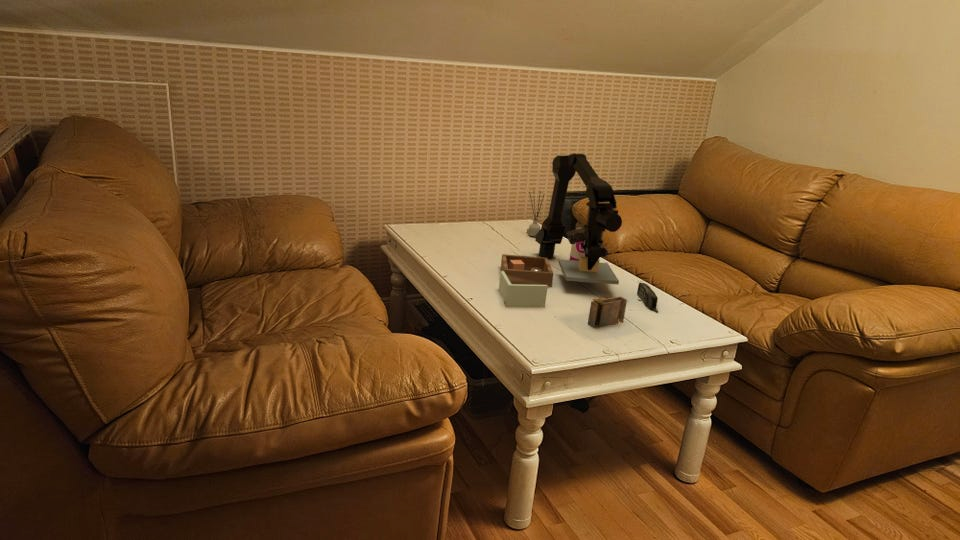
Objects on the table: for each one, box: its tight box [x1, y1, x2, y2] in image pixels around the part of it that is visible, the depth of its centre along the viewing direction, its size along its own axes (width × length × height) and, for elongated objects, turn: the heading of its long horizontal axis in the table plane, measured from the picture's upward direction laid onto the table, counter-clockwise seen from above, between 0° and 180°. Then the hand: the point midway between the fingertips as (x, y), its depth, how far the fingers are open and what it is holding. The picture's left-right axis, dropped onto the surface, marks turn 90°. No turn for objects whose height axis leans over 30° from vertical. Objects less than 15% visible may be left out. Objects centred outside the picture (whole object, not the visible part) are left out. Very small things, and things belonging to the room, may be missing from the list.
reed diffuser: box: [526, 188, 545, 237], centre depth 250 cm, size 10×7×20 cm
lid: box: [558, 256, 620, 285], centre depth 199 cm, size 17×17×5 cm
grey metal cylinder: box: [531, 267, 542, 272], centre depth 201 cm, size 4×4×4 cm
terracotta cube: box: [509, 260, 525, 270], centre depth 206 cm, size 4×4×4 cm
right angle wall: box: [498, 270, 549, 308], centre depth 186 cm, size 12×12×8 cm
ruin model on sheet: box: [587, 296, 628, 329], centre depth 174 cm, size 11×3×10 cm, turn 120°
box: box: [500, 253, 554, 288], centre depth 203 cm, size 16×16×6 cm
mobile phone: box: [636, 282, 659, 314], centre depth 193 cm, size 5×3×15 cm
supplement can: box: [569, 227, 585, 261], centre depth 215 cm, size 8×8×15 cm
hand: (588, 268), depth 199 cm, fingers closed on lid, 3 cm apart
